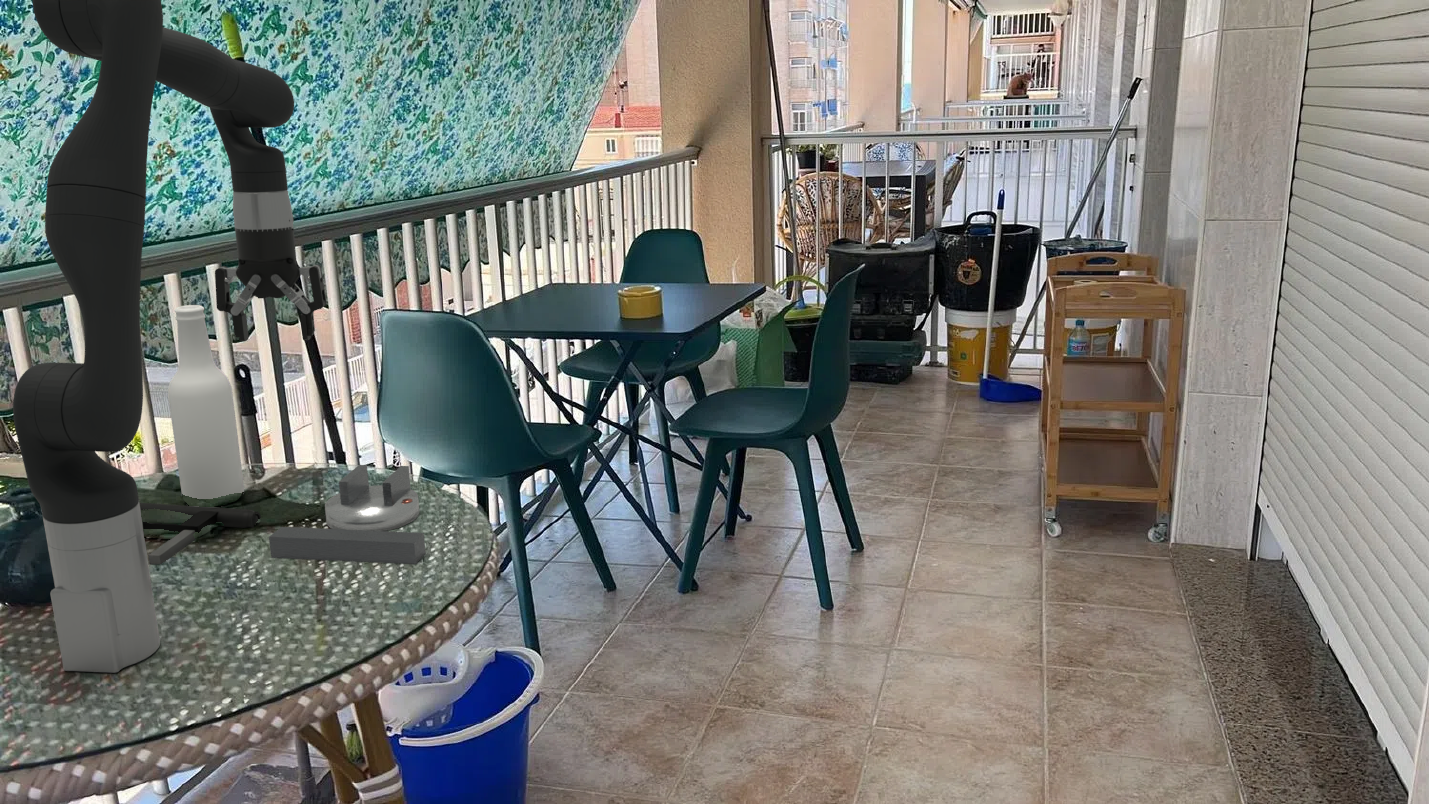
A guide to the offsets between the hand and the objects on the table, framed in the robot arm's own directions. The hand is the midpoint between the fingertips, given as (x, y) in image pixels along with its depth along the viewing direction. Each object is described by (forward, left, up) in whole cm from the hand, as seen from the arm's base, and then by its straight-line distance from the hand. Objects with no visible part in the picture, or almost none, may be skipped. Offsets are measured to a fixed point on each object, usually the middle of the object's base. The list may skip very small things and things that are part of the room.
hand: (275, 339), depth 160 cm
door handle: (-10, +14, -27) cm, 32 cm away
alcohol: (+6, +16, -27) cm, 32 cm away
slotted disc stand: (-1, -12, -26) cm, 29 cm away
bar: (-15, -14, -27) cm, 34 cm away
